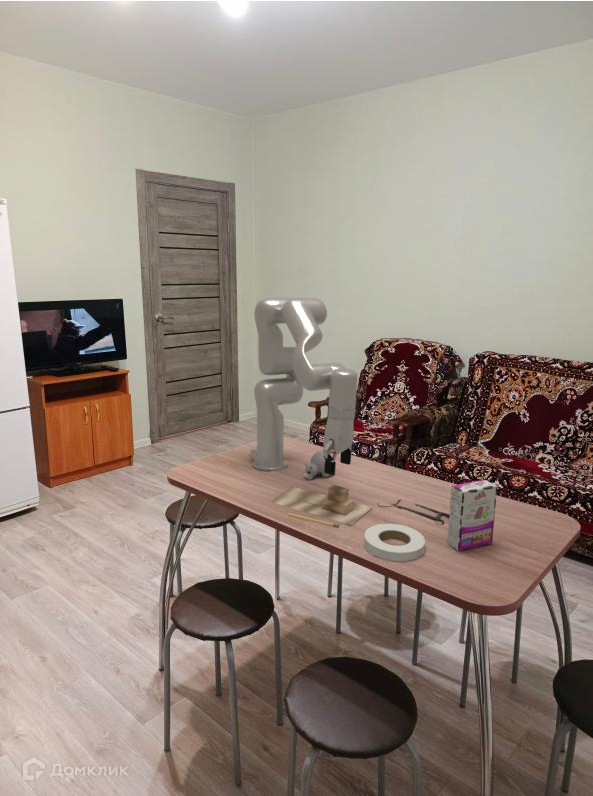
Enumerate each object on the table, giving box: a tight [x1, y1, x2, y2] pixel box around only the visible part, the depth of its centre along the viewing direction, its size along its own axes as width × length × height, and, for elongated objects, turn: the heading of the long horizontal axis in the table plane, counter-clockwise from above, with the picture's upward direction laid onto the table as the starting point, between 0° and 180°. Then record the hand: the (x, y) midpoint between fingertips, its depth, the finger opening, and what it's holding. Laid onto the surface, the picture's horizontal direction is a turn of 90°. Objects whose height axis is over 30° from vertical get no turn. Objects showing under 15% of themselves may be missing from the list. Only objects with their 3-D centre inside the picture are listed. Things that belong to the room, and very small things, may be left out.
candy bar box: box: [447, 479, 498, 552], centre depth 140 cm, size 11×5×16 cm, turn 114°
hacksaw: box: [377, 499, 450, 525], centre depth 160 cm, size 24×10×2 cm, turn 43°
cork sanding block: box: [322, 484, 355, 515], centre depth 160 cm, size 8×5×6 cm, turn 58°
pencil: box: [287, 512, 340, 529], centre depth 153 cm, size 16×1×1 cm, turn 63°
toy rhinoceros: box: [303, 450, 330, 481], centre depth 186 cm, size 7×12×8 cm, turn 128°
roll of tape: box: [363, 523, 426, 563], centre depth 140 cm, size 16×15×3 cm
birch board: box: [268, 486, 374, 527], centre depth 164 cm, size 28×14×1 cm, turn 58°
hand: (337, 468), depth 159 cm, fingers open, 9 cm apart
